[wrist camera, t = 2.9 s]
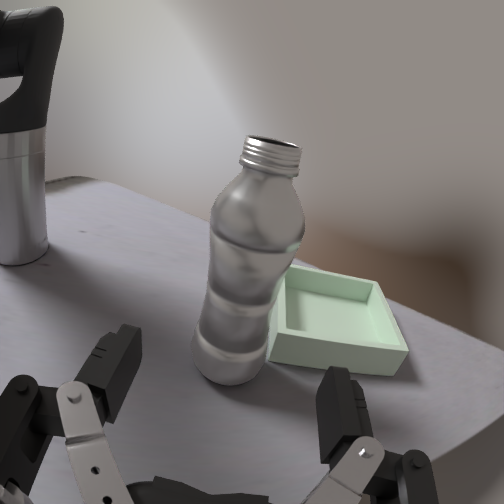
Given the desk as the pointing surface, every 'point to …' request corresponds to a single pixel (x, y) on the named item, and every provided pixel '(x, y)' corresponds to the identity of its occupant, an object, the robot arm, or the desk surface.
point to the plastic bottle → (248, 260)
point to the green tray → (334, 324)
